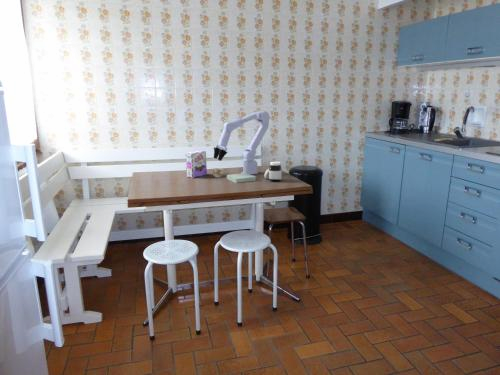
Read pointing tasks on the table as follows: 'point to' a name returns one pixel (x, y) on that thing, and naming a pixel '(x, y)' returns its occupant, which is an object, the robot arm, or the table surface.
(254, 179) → the sage box
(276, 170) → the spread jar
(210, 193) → the table surface
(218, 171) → the beech block
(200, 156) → the candy box
